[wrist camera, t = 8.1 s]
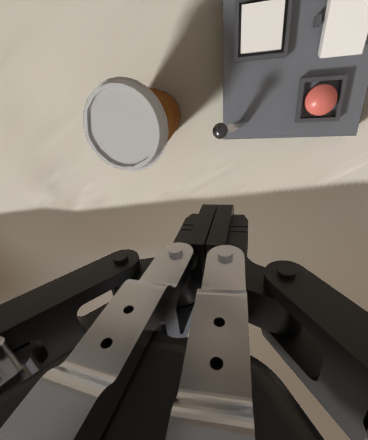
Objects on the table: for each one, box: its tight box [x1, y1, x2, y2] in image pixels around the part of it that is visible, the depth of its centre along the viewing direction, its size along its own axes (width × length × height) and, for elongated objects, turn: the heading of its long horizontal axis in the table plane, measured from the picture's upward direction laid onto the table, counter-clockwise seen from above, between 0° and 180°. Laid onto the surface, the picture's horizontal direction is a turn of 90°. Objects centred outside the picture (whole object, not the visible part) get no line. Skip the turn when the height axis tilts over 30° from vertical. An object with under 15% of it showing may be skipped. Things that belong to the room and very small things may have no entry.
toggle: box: [213, 118, 246, 139], centre depth 28 cm, size 2×2×7 cm
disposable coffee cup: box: [83, 77, 180, 171], centre depth 31 cm, size 10×10×12 cm
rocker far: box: [318, 0, 368, 58], centre depth 23 cm, size 6×4×2 cm, turn 5°
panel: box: [223, 0, 368, 139], centre depth 27 cm, size 16×15×4 cm
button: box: [304, 84, 338, 116], centre depth 27 cm, size 3×3×1 cm
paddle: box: [241, 0, 285, 54], centre depth 26 cm, size 4×4×1 cm
